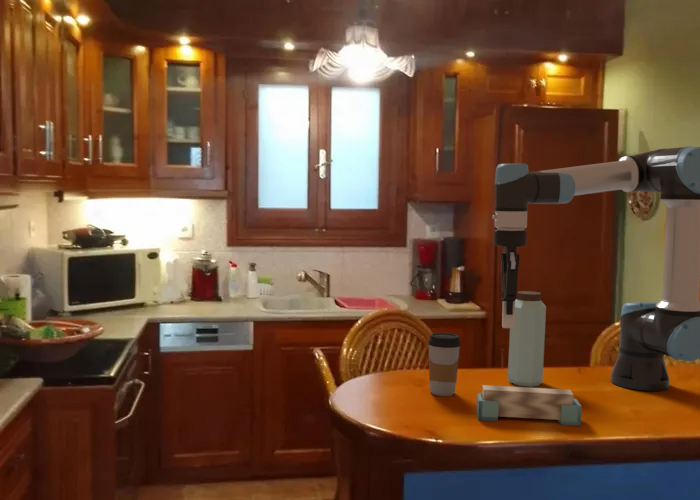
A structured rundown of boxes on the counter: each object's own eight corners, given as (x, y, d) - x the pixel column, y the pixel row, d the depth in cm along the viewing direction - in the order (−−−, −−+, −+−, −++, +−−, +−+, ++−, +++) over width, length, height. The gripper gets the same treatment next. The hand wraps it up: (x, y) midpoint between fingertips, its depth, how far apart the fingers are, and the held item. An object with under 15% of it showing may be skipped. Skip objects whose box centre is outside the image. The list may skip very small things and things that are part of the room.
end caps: (574, 417, 169) (575, 398, 169) (580, 426, 163) (581, 406, 162) (476, 411, 171) (477, 392, 171) (478, 420, 165) (479, 400, 165)
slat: (568, 415, 168) (569, 389, 168) (572, 420, 164) (573, 394, 164) (481, 410, 170) (482, 385, 169) (482, 415, 166) (483, 389, 165)
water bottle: (534, 389, 192) (539, 296, 190) (500, 382, 198) (504, 292, 196) (549, 382, 200) (553, 293, 198) (515, 376, 206) (519, 289, 204)
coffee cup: (457, 398, 182) (460, 339, 181) (424, 395, 184) (426, 337, 182) (459, 390, 190) (461, 333, 189) (427, 387, 192) (429, 331, 190)
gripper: (491, 227, 178) (489, 322, 180) (497, 230, 165) (495, 332, 167) (522, 227, 177) (520, 322, 179) (531, 230, 164) (528, 333, 167)
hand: (508, 327), depth 173 cm, fingers closed
